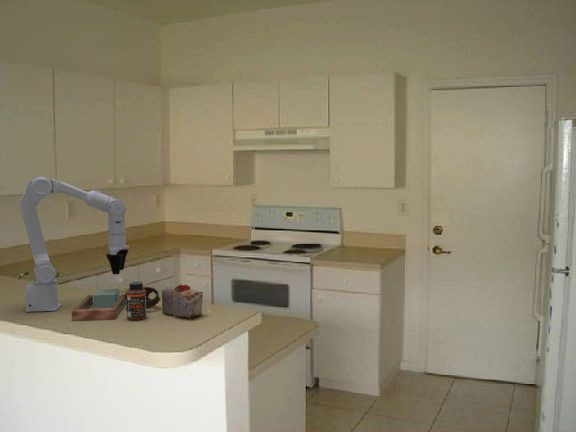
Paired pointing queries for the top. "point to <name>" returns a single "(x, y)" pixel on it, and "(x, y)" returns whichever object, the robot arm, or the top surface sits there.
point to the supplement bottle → (136, 301)
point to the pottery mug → (149, 301)
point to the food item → (182, 301)
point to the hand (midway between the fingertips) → (118, 271)
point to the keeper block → (106, 297)
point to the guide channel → (97, 310)
